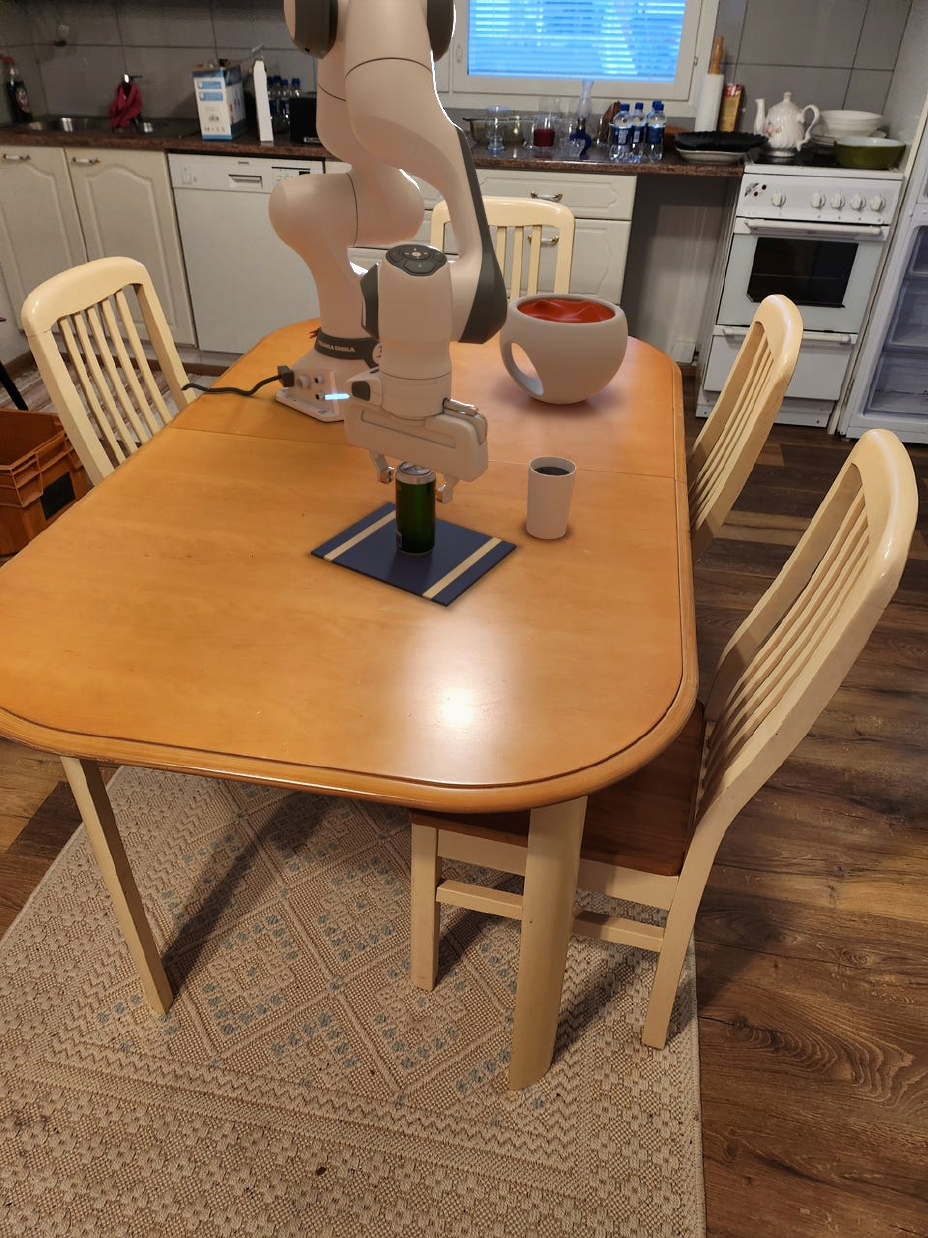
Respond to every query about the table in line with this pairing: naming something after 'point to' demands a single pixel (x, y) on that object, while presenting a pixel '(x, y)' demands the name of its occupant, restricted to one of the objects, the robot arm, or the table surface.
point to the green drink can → (415, 509)
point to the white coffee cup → (549, 496)
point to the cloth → (429, 576)
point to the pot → (564, 344)
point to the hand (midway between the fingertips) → (414, 491)
